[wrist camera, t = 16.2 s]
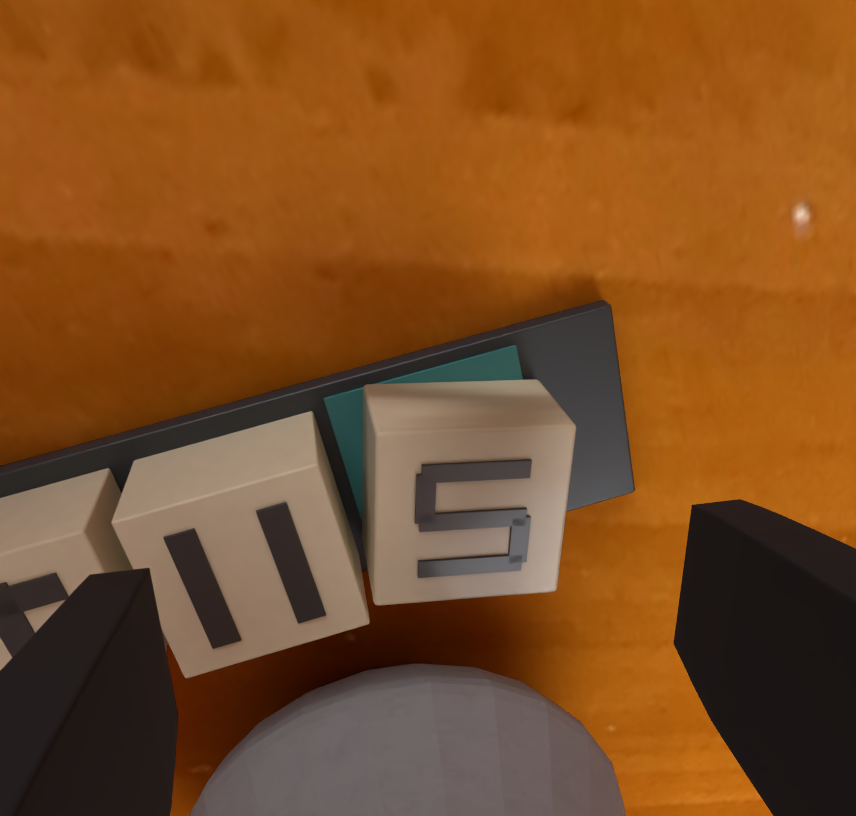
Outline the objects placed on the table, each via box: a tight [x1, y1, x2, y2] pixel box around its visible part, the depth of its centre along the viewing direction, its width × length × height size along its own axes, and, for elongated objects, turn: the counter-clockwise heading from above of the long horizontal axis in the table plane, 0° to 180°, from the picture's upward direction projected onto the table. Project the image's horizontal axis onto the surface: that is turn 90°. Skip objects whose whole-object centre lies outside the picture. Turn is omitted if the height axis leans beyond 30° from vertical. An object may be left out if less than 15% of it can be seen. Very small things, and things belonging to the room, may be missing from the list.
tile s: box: [362, 379, 576, 606], centre depth 17 cm, size 4×4×3 cm
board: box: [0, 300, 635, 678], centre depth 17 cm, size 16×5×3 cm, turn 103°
